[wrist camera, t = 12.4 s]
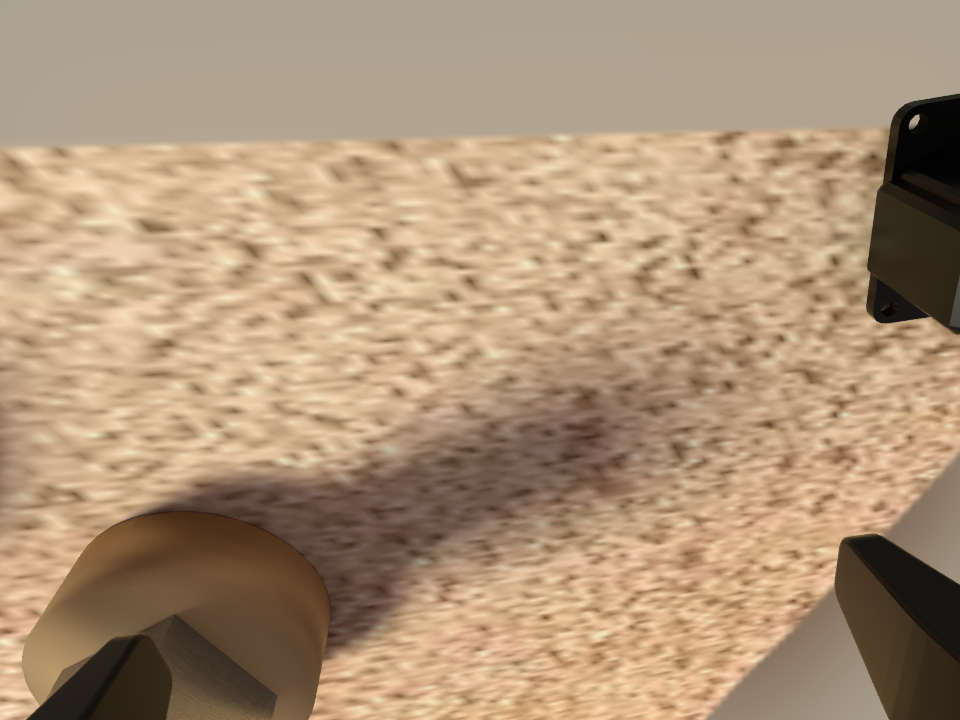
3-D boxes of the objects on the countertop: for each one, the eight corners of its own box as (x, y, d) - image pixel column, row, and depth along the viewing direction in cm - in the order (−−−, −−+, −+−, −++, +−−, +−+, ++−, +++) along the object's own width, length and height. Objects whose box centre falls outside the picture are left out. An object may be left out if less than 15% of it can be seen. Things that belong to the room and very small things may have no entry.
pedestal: (289, 494, 24) (265, 568, 21) (357, 669, 29) (345, 750, 26) (24, 532, 25) (-36, 609, 22) (135, 698, 30) (98, 780, 27)
